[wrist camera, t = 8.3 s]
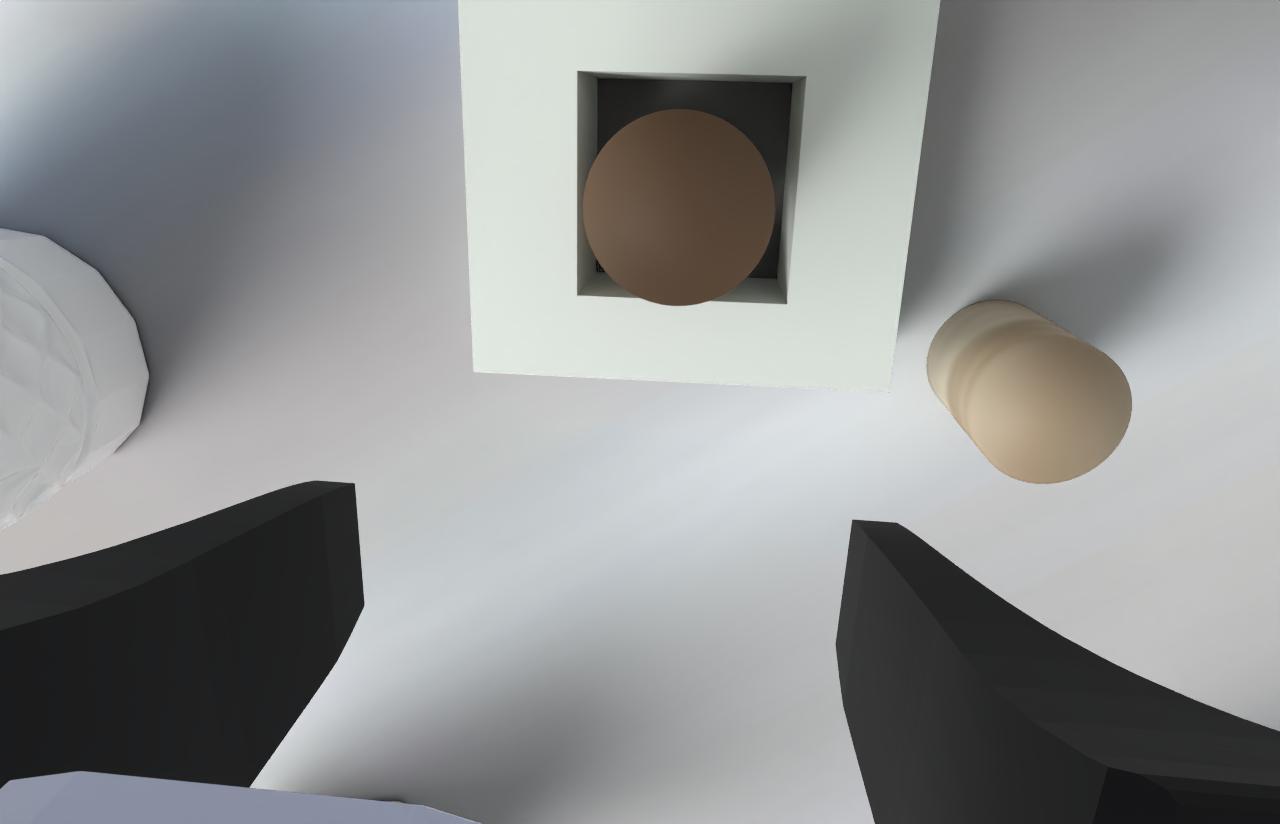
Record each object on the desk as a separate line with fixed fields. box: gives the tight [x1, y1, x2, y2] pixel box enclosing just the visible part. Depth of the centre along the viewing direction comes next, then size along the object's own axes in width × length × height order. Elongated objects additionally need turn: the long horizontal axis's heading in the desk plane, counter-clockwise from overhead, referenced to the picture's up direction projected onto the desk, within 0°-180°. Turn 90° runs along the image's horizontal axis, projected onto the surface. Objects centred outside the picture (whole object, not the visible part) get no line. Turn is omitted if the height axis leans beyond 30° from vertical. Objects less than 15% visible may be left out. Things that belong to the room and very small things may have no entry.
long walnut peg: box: [583, 109, 775, 306], centre depth 16 cm, size 3×3×7 cm
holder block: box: [458, 0, 941, 393], centre depth 18 cm, size 9×8×3 cm
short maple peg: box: [927, 300, 1132, 484], centre depth 19 cm, size 3×3×4 cm
